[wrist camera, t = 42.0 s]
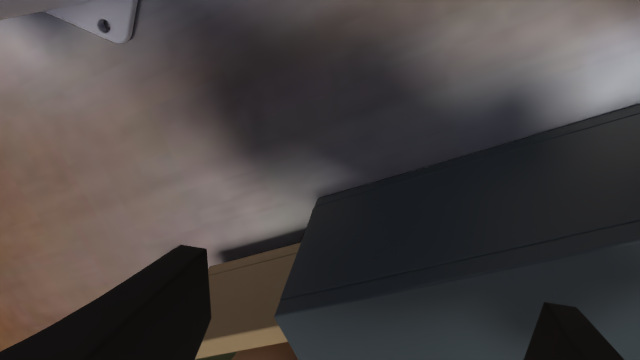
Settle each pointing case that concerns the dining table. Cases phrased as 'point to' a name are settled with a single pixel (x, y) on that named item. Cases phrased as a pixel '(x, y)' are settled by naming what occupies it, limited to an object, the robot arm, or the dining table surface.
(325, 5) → the dining table surface
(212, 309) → the drawer
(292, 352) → the egg
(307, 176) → the dining table surface
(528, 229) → the cabinet
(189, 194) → the dining table surface
